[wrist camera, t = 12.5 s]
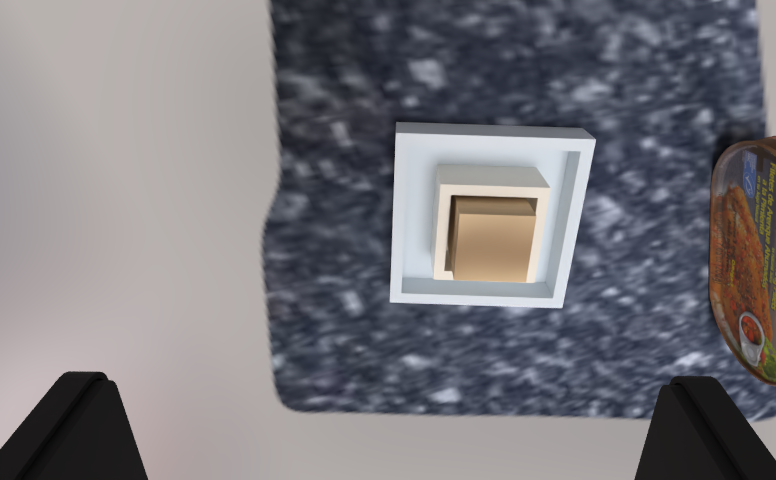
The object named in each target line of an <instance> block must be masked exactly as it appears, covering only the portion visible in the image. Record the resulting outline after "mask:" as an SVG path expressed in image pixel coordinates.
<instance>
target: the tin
mask: <svg viewBox="0 0 776 480" xmlns="http://www.w3.org/2000/svg"><path fill="white" fill-rule="evenodd" d="M709 294H710V300H711V305H712V309H713V313H714V316H715V319H716V322H717V325H718V327H719V329H720V332H721V334H722V336H723V338H724V339H725V341H726V343H727V345H728V347H729V348H730V350H731V351H732V353H733V354H734V356H735V357H736V358H737V360H738V361H739V362H740V364H741V365H742V366H743V367H744V368H745V369H746V370H747V371H748V372H749V373H750V374H751V375H753V376H754V377H755V378H757V379H758V380H760V381H762V382H763V383H765V384H768V385H772V386H776V136H772V137H767V138H763V139H759V140H754V141H742V142H738V143H735V144H733V145H731V146H730V147H728V148H727V149H726V150H725V151H724V152H723V153H722V155H721V156H720V157H719V159H718V161H717V163H716V166H715V168H714V171H713V175H712V181H711V207H710V262H709Z"/></svg>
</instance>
